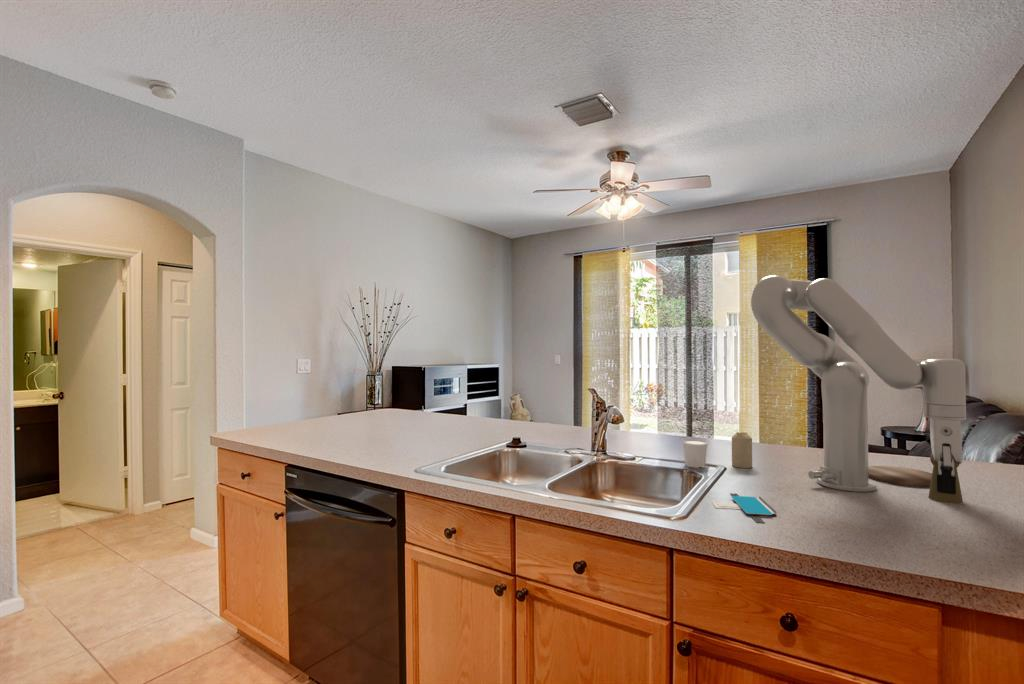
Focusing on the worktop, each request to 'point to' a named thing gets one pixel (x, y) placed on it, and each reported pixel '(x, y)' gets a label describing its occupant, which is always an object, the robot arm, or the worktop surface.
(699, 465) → the white cup
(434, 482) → the worktop surface
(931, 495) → the olive green pepper mill
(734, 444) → the candle
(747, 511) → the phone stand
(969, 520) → the worktop surface
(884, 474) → the walnut board
